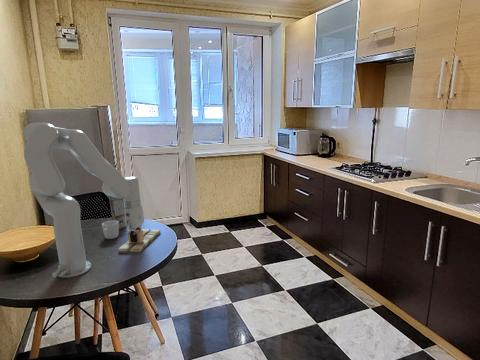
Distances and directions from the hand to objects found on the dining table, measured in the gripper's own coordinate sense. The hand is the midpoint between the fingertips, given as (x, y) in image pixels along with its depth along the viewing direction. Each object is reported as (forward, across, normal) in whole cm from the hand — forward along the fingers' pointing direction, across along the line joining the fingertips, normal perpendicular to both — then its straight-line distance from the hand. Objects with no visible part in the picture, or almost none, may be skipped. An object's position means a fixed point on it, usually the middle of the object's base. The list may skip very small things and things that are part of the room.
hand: (136, 239), depth 149 cm
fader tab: (+2, 0, 0) cm, 2 cm away
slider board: (+3, +4, 0) cm, 5 cm away
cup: (+3, +7, +18) cm, 20 cm away
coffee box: (+4, +25, +23) cm, 34 cm away
